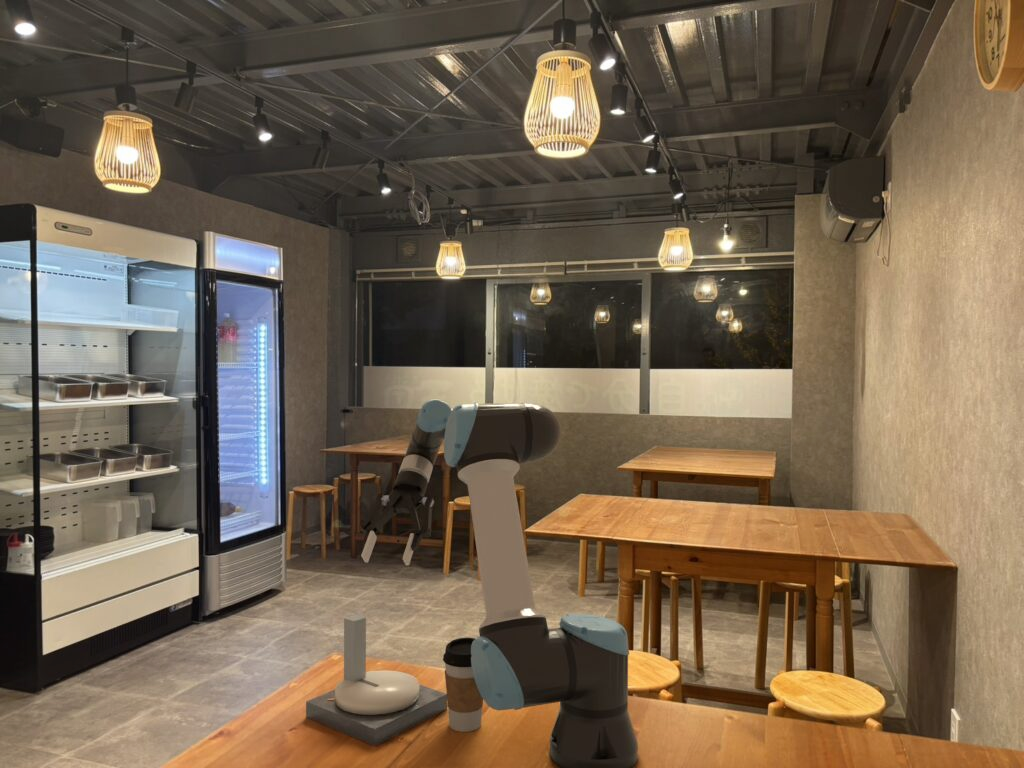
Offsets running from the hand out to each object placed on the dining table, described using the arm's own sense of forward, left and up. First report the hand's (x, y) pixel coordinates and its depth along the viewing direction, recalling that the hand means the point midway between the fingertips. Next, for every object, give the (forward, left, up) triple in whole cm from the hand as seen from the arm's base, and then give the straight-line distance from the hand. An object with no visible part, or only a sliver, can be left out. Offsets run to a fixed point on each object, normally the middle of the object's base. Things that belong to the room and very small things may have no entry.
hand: (384, 560), depth 167 cm
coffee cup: (-30, +8, -25) cm, 40 cm away
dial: (-13, +15, -22) cm, 29 cm away
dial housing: (-13, +15, -25) cm, 32 cm away
